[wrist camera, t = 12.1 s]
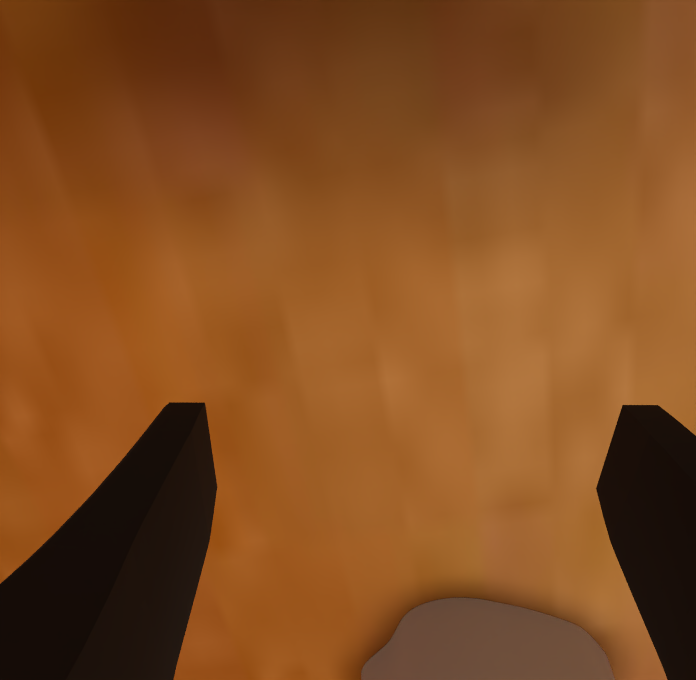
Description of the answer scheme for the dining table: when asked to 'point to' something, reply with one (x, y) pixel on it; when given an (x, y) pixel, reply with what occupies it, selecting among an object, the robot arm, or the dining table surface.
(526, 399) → the dining table surface
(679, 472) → the robot arm
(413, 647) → the lumpy-topped squat cylinder
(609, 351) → the dining table surface
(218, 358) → the dining table surface
